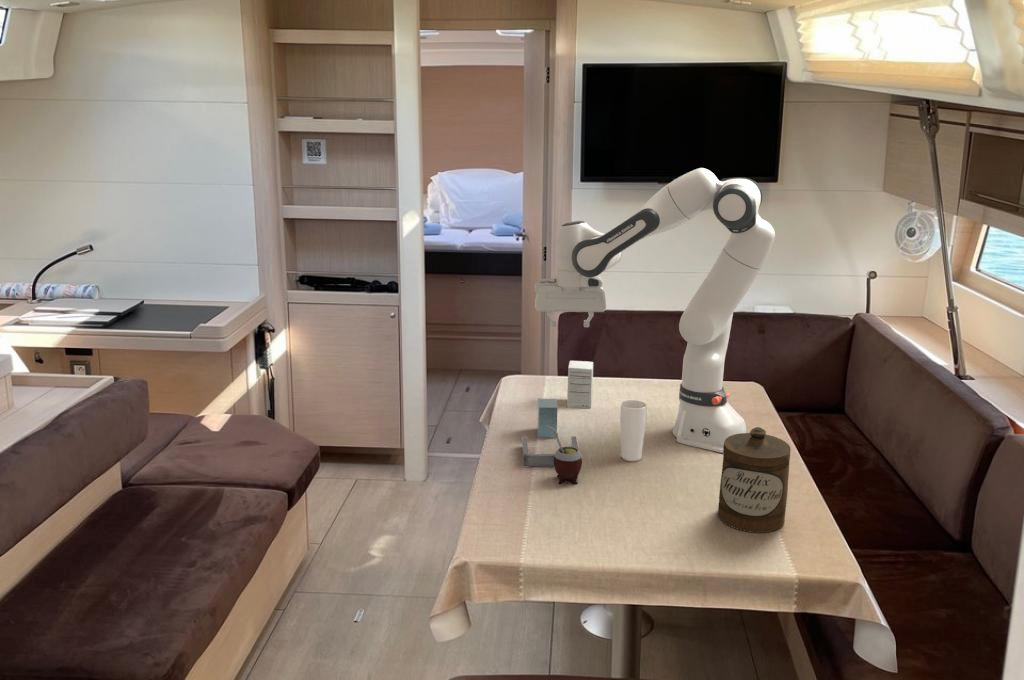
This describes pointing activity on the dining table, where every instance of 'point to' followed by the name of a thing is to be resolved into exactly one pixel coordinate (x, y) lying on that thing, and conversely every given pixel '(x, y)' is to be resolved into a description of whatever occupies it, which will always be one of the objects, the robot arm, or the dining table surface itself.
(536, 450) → the dining table surface
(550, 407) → the block
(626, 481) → the dining table surface
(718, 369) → the robot arm
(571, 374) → the supplement box
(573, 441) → the coupler bay
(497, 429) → the dining table surface
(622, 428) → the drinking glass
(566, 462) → the mate gourd
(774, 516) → the wooden container
